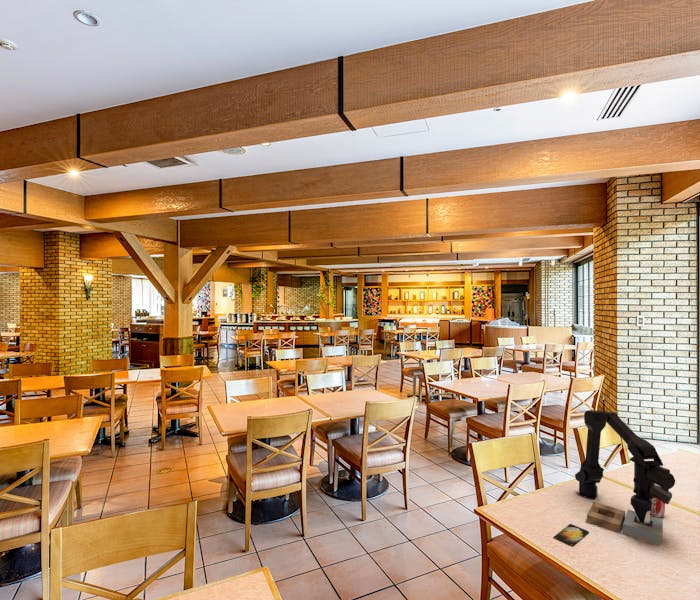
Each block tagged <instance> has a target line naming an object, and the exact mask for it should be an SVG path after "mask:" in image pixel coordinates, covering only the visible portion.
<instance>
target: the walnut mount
mask: <svg viewBox="0 0 700 600" xmlns="http://www.w3.org/2000/svg"><path fill="white" fill-rule="evenodd" d="M589 508H590V509H589V510H588V512H587V513H586V523H587V524H590V525H593V526H596V525H597V527H600V528H603V529H606V530H609V531H612V532H615V533H618V534H621V532H622V530H623V523H624V520H625V517H626V510H624V509H619V508H617V507H613V506H610V505H606V504H603V503H600V502H596V501H593V502H592V504H591V506H590V507H589Z"/></svg>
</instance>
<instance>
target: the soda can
mask: <svg viewBox="0 0 700 600" xmlns="http://www.w3.org/2000/svg"><path fill="white" fill-rule="evenodd" d="M654 484H655V483H654ZM655 485H657V484H655ZM657 486H658V485H657ZM651 501H652V510H651V511H650V515H651V516H654V517H656V518H662V517H664V516H665V512H666V504H665V503H663V502H662V501H661V500H659V499H657V498H655V497H654V498H653V499H651Z"/></svg>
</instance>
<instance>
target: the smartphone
mask: <svg viewBox="0 0 700 600" xmlns="http://www.w3.org/2000/svg"><path fill="white" fill-rule="evenodd" d="M588 535H590V531H588V530H586V529H584V528H582V527H579V526H577V525H574V524H572V523H569V524H568V525H567V526H566V527H564V528H563V529H562V530H561V531H559V532H557V533H556V535H554V536H552V538H553V539H554V540H556V541H558V542H560V543H562V544H565V545H567V546H568V547H571V548H574V547H575V546H576V545H578V544H579V543H580V542H581V541H582V540H583V539H585V538H586V537H587V536H588Z"/></svg>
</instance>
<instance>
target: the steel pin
mask: <svg viewBox="0 0 700 600" xmlns="http://www.w3.org/2000/svg"><path fill="white" fill-rule="evenodd" d="M637 523H639V524H642V525H645V526H649V527H650V511H648V512H646V516H645V520H644V523H641V522H640V521H639V519H638V516H637Z"/></svg>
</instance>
